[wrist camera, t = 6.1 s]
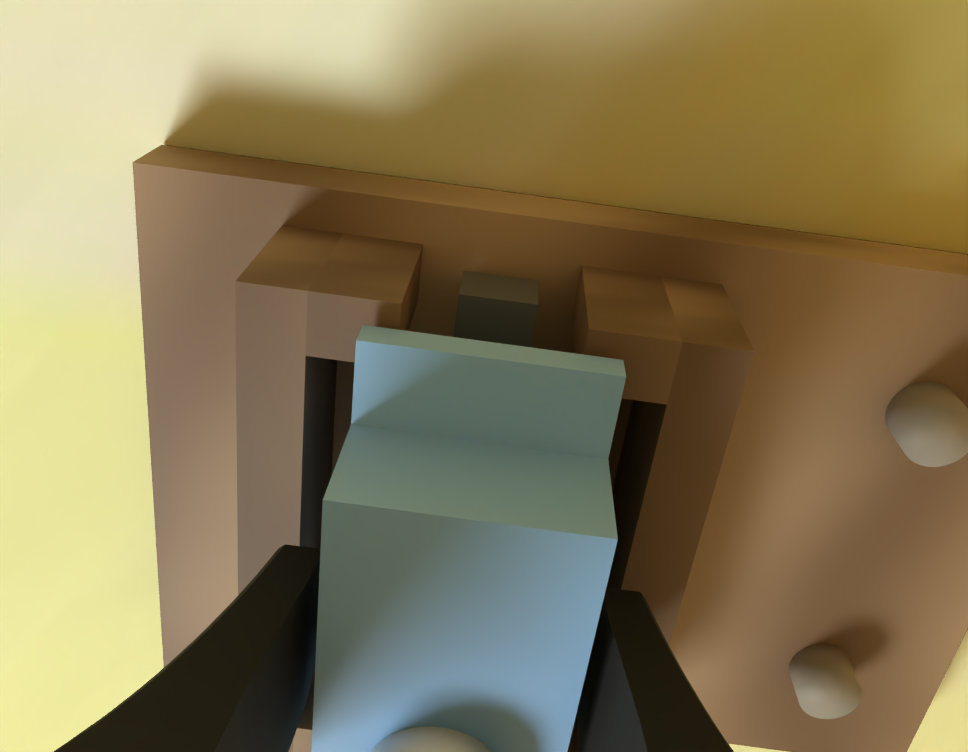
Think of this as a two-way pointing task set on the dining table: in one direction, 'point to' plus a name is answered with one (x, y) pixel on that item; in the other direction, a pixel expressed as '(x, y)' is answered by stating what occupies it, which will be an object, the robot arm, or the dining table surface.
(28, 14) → the dining table surface
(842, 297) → the board
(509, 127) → the dining table surface
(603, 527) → the block
